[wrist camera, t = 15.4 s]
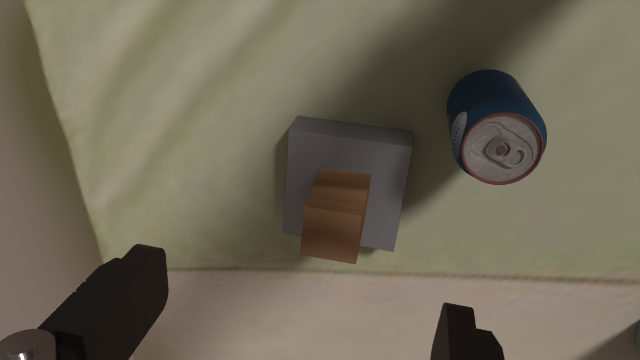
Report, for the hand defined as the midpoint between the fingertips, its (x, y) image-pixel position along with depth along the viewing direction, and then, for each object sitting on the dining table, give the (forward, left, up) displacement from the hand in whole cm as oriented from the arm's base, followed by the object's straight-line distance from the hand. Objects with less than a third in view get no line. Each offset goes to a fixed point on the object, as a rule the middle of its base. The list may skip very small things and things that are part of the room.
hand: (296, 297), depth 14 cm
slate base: (+14, -2, -36) cm, 39 cm away
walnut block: (+14, -2, -32) cm, 35 cm away
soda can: (+4, +10, -36) cm, 38 cm away
